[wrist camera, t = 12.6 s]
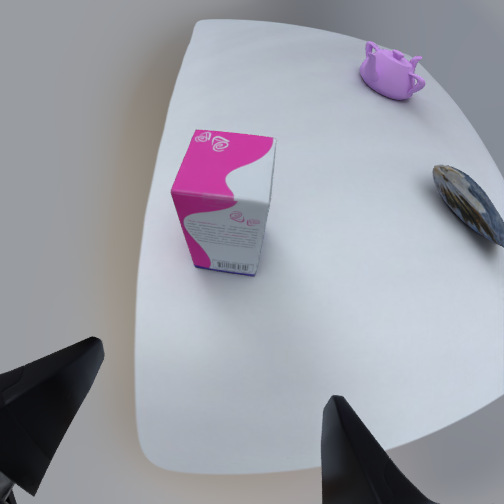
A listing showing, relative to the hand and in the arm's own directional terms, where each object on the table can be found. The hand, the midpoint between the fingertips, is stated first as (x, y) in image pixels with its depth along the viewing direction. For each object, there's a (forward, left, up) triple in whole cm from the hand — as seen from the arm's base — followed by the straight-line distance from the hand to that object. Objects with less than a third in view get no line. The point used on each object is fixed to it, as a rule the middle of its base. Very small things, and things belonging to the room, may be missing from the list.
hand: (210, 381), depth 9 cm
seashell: (+35, -12, -14) cm, 39 cm away
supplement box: (+9, +8, -14) cm, 18 cm away
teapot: (+54, +12, -14) cm, 57 cm away
